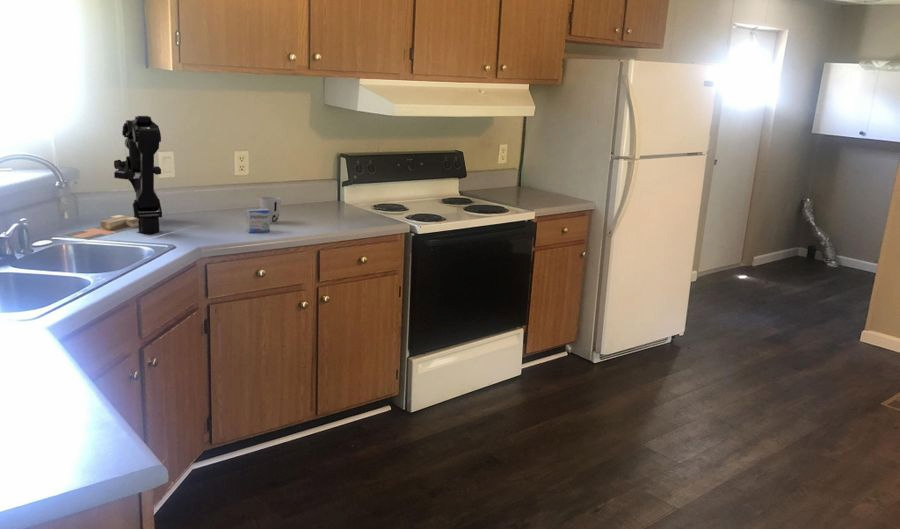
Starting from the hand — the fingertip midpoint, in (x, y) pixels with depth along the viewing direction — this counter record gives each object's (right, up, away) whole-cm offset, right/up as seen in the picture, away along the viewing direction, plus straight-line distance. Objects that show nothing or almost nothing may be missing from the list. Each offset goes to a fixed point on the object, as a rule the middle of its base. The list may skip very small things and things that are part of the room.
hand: (139, 194), depth 275 cm
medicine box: (+45, -14, 0) cm, 47 cm away
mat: (-7, -15, -14) cm, 21 cm away
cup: (+46, -10, +16) cm, 50 cm away
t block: (-5, -13, -8) cm, 16 cm away
